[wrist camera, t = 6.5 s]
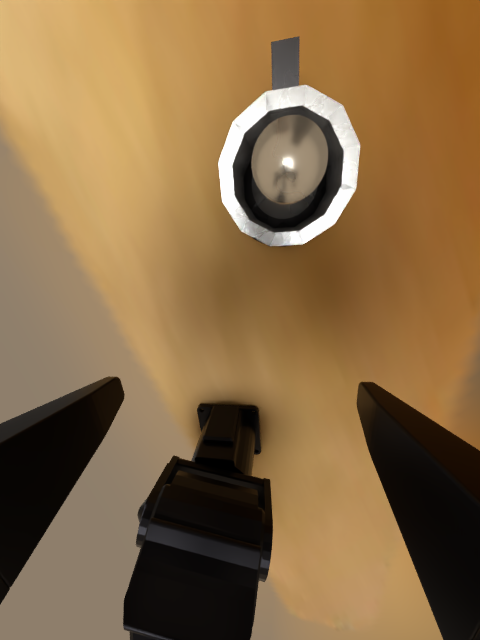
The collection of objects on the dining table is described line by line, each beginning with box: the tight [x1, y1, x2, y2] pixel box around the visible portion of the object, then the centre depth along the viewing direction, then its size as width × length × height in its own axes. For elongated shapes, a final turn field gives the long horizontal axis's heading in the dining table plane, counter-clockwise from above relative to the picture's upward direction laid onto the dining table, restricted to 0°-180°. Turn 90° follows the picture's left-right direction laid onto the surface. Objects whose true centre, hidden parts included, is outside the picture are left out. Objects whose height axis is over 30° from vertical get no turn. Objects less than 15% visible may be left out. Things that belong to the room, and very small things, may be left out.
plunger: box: [252, 115, 328, 219], centre depth 13 cm, size 4×4×8 cm
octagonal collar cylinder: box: [218, 37, 360, 246], centre depth 15 cm, size 9×8×5 cm
